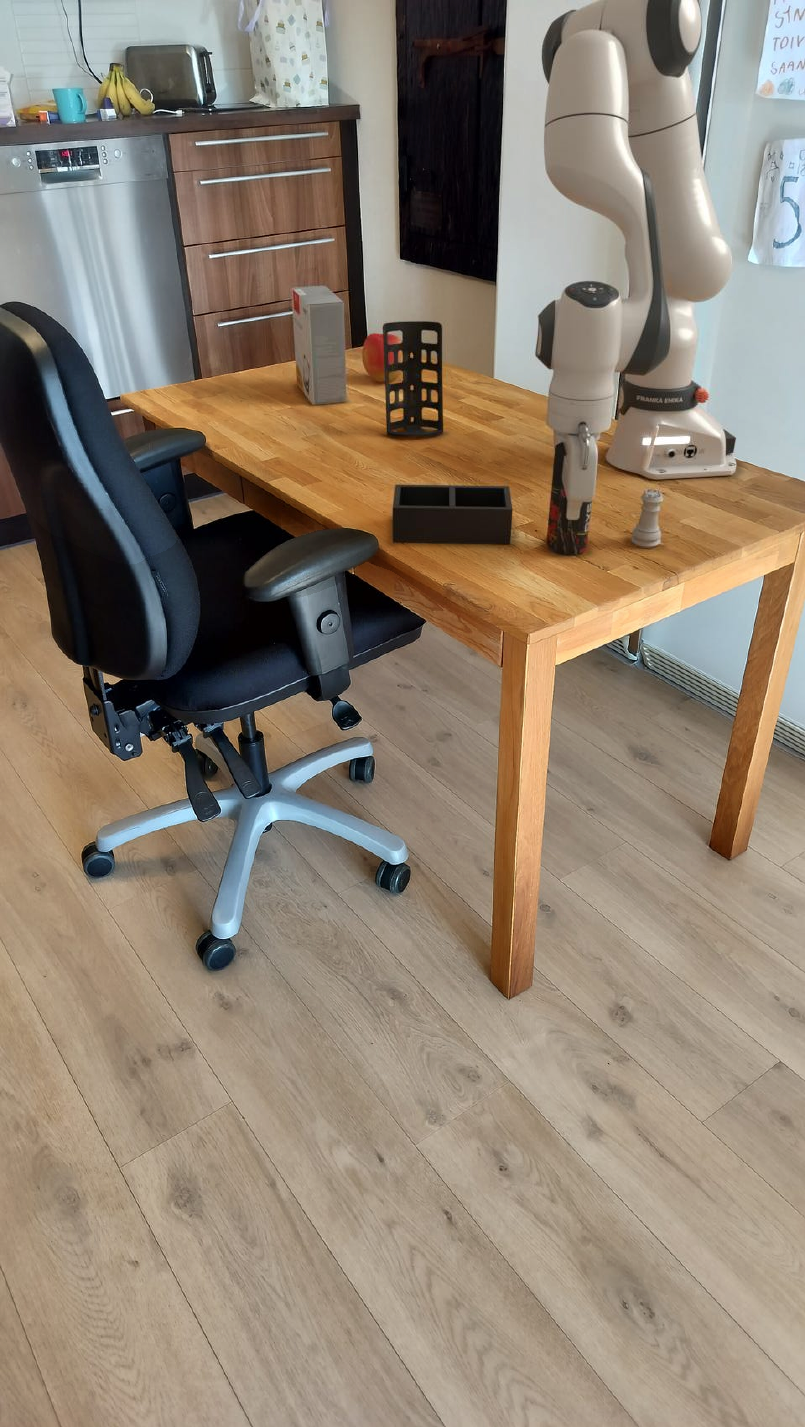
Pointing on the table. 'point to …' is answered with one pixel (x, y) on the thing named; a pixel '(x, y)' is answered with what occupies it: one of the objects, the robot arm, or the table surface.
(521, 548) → the table surface
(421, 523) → the box
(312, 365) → the hard drive box
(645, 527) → the rook chess piece
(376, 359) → the apple
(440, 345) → the holder
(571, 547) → the deodorant
